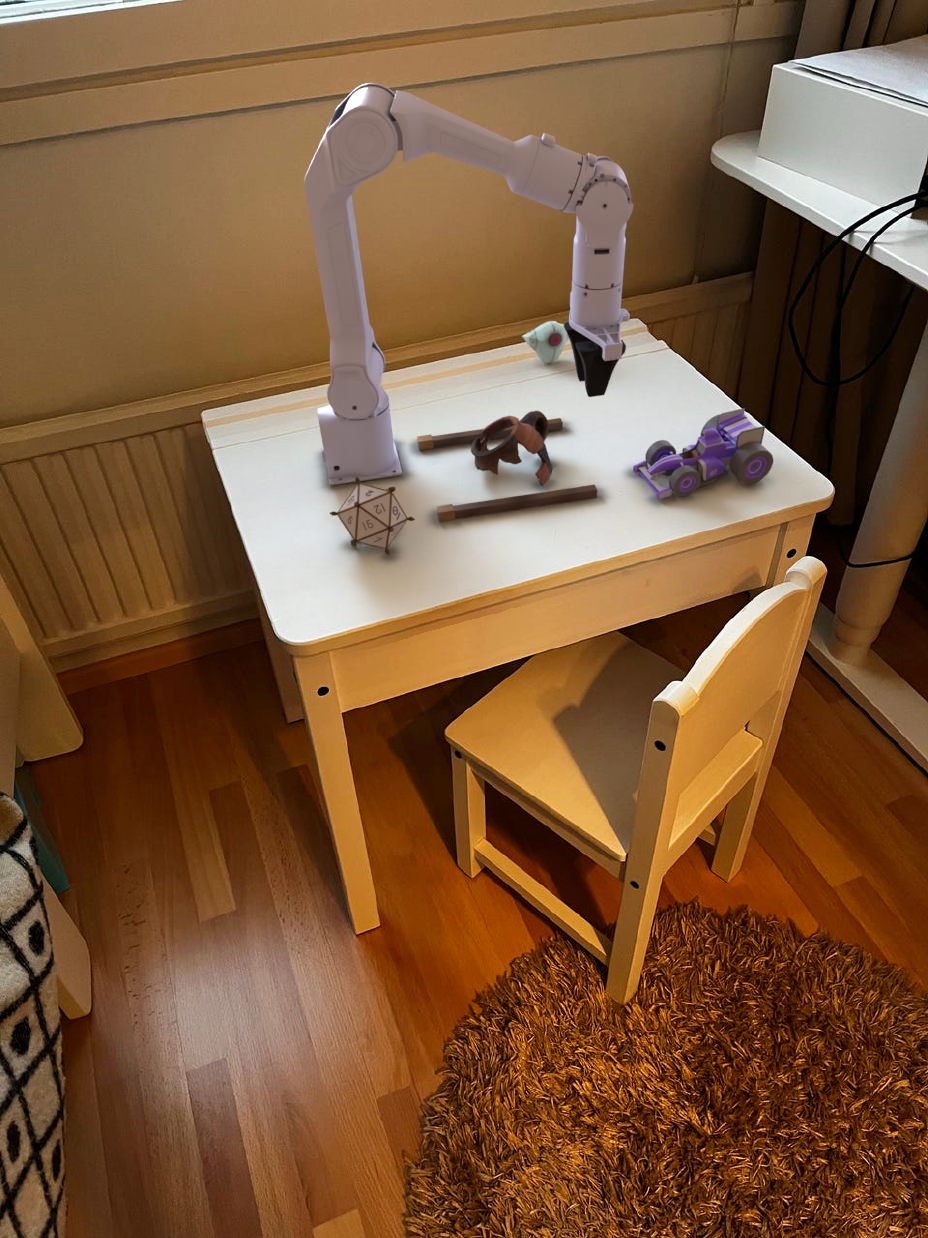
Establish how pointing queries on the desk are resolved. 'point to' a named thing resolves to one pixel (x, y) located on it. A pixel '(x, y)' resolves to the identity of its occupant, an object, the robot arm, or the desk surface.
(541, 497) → the walnut slot
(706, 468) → the toy race car
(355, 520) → the game die
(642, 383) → the desk surface
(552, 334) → the robot head
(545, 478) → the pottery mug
